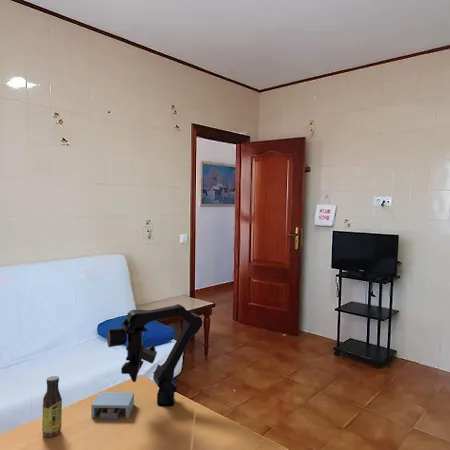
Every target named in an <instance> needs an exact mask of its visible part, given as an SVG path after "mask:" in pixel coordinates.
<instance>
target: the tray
mask: <svg viewBox="0 0 450 450" xmlns="http://www.w3.org/2000/svg"><path fill="white" fill-rule="evenodd" d="M122 410H123V408H116V413H107V408H101V410H100V413H99V420H100V421H104V420H105V421H113V420H114V421H117V420H118V419H119V417H120V415H121V412H122Z"/></svg>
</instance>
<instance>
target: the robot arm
mask: <svg viewBox="0 0 450 450" xmlns="http://www.w3.org/2000/svg"><path fill="white" fill-rule="evenodd" d="M174 317H180V318H182V319H183V321H182V326H181V332H180V334H179V336H178V337H177V339H176V341H175V343H174V345H173V347H172V348H171V350H170V353H169V354H168V356H167V358H166V360H165V361H164V363H163V364H161V365H160V364H157V366H156V368H155V370H154V371H153V373H152V374H153V377H152V379H153V381H154V383H155V385H156V386H157V387H158V388H159V389H158V391H157V393H156V394H157V395H156V403H157V407H175V406H174V405H175V401H176V398H175V395H176V391H177V388H178V387H177V385H176V384H175V383H174V382H173V381H174V377H175V376H174V375H175V370H176V367H177V365H178V363H179V361H180V360H181V358H182V355H183V353H184V351H185V350H186V347H187V346H188V344H189V342H190V341H191V338H192V337H193V336H195V335H196V334H198V332H199V331H200V330H201V328H202V327H203V324H204V323H203V318H202V317H200V316H199V315H197V314H196V313H194V312H190V311H189V310H187V309H186V308H185V307H184V306H183V305H181V304H179V303H177V304H174V305H170V306H165V307H159V308H154V309H132V310H130V311H128V313H127V314H126V318H125V320H124V321H123V322H122V324H121V325H120V327H116V328H115V327H114V328H113V327H111V328H108V331H107V336H106V340H107V341H106V342H107V347H108V348H113V347H119V346H121V347H122V346H124V345H125V344H126V343H127V346H126V348H125V350H126V351H127V352H126V353H127V354H126V357H125V360H126V361H127V362H126V361H125V362H124V363H123V365H122V367H121V371H120V372H121V374H122V375H123V374H124V375H129V377H130V379H131V381H132V382H133V383H136V382H137V378H138V375H139V372H140V370H141V369H142V366H143V364H144V362H148V363H150V364H154V361H155V359H156V357H157V354H158V352H157V350H156V346H154V345H150V347H147V348H146V347H145V344H144V343H143V332H144V333H146V332H148V331H149V330H148V329H147V327H146V325H148V324H150V323H152V322H155V321H159V320H165V319H169V318H174Z"/></svg>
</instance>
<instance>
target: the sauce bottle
mask: <svg viewBox="0 0 450 450" xmlns="http://www.w3.org/2000/svg"><path fill="white" fill-rule="evenodd" d="M59 383H60V377H59V376H58V375H52V376H48V377H46V393H45V394H44V395H43V397H42V424H41V425H42V428H41V430H42V436H43V437H44V438H53V437H56V436H57V435H59V434H60V433H61V430H62V423H63V422H62V413H63V412H62V411H63V410H62V408H63V407H62V406H63V405H62V404H63V398H62V396H61V393H60V390H59Z"/></svg>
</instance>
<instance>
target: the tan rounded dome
mask: <svg viewBox="0 0 450 450" xmlns="http://www.w3.org/2000/svg"><path fill="white" fill-rule="evenodd" d="M107 413H116V408H107Z"/></svg>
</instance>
